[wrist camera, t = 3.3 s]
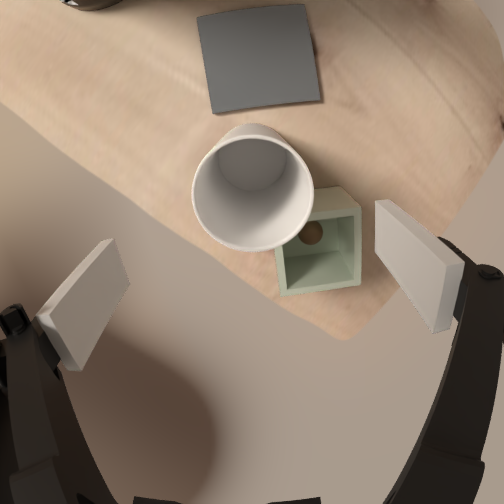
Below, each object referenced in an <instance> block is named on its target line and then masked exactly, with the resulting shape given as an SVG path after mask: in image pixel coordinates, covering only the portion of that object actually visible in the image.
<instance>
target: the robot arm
mask: <svg viewBox="0 0 504 504" xmlns="http://www.w3.org/2000/svg"><path fill="white" fill-rule="evenodd" d="M60 1H61V2H62V3H64V4H66V5H68V6H70V7H73V8H75V9H78V10H85V11H90V10H98V9H103V8H106V7H109V6H112V5H114V4H116V3H119V2H121V1H122V0H60ZM375 253H376V254H377V255H378V257H379V258H380V259H381V261H382V262H383V263H384V265H385V266H386V267H387V269H388V270H389V271H390V273H391V274H392V276H393V277H394V278H395V280H396V281H397V282H398V284H399V285H400V287H401V288H402V289H403V291H404V292H405V294H406V295H407V297H408V298H409V299H410V301H411V302H412V304H413V305H414V307H415V308H416V309H417V311H418V313H419V314H420V316H421V317H422V318H423V320H424V321H425V323H426V325H427V326H428V328H429V329H430V331H431V332H432V334H434V333H438V332H441V331H445V330H448V329H450V326H451V322H452V318H453V316H454V317H455V318H456V320H457V321H458V326H457V330H456V333H455V336H454V339H453V342H452V348H451V351H450V354H449V358H448V361H447V365H446V368H445V371H444V374H443V377H442V380H441V382H440V385H439V388H438V391H437V394H436V397H435V399H434V402H433V405H432V407H431V409H430V412H429V414H428V417H427V419H426V421H425V424H424V426H423V428H422V431H421V433H420V435H419V437H418V440H417V442H416V444H415V446H414V448H413V450H412V452H411V454H410V456H409V458H408V460H407V462H406V465H405V466H404V468H403V470H402V472H401V474H400V475H399V477H398V479H397V481H396V483H395V485H394V486H393V488H392V490H391V491H390V493H389V494H388V496H387V498H386V499H385V501H384V502H383V504H473V502H474V499H475V497H476V494H477V492H478V489H479V486H480V483H481V480H482V477H483V473H484V469H485V463H484V462H483V461H481V454H482V450H483V447H484V443H485V440H486V436H487V432H488V428H489V424H490V420H491V415H492V411H493V406H494V401H495V395H496V390H497V384H498V377H499V370H500V361H501V353H502V343H503V344H504V275H503V273H502V272H501V271H500V270H499V269H497V268H495V267H493V266H490V265H485V264H480V265H476V264H475V263H474V262H473V261H472V260H471V259H470V258H469V257H467V256H466V255H465V254H464V253H462V251H460V250H459V249H458V248H456V246H455V245H453V244H452V243H451V242H450V241H448V240H446V239H444V238H441V237H436V236H435V235H433V234H432V233H431V232H430V231H429V230H427V229H426V228H425V227H424V226H423V225H421V224H420V223H419V222H418V221H416V220H415V219H414V218H413V217H411V216H410V215H409V214H408V213H406V212H405V211H404V210H402V209H401V208H400V207H399V206H397V205H396V204H395V203H393V202H392V201H391V200H389V199H386V200H376V201H375ZM129 285H130V283H129V280H128V277H127V274H126V272H125V269H124V266H123V263H122V260H121V257H120V254H119V251H118V248H117V245H116V243H115V239H114V238H113V239H108V240H102V241H101V242H100V243H99V244H98V245H97V246H96V247H95V248H94V249H93V250H92V251H91V253H90V254H89V255H88V256H87V257H86V258H85V259H84V260H83V261H82V262H81V263H80V265H78V266H77V268H76V269H75V270H74V271H73V272H72V273H71V274H70V275H69V277H68V278H67V279H66V280H65V281H64V282H63V283H62V284H61V285H60V287H59V288H58V289H57V290H56V291H55V293H54V294H53V295H52V296H51V297H50V298H49V300H48V301H47V302H46V303H45V304H44V305H43V307H42V308H41V309H40V310H39V312H38V313H37V314H36V316H35V317H34V319H33V320H32V321H31V322H30V320H29V318H28V316H27V314H26V312H25V310H24V309H23V306H22V305H21V304H13V305H11V306H9V307H7V308H6V309H4V310H3V311H2V312H1V313H0V326H1V328H2V330H3V332H4V333H5V335H6V337H7V338H6V339H3V340H0V504H118V503H117V502H116V500H115V499H114V498H113V496H112V494H111V492H110V491H109V489H108V487H107V485H106V483H105V481H104V479H103V477H102V475H101V473H100V471H99V469H98V467H97V465H96V463H95V461H94V458H93V456H92V454H91V452H90V450H89V447H88V445H87V443H86V441H85V438H84V435H83V433H82V431H81V428H80V426H79V423H78V420H77V418H76V415H75V412H74V410H73V407H72V404H71V401H70V398H69V395H68V392H67V389H66V386H65V383H64V380H63V376H62V373H61V371H60V370H59V368H58V367H57V365H58V363H59V361H60V360H61V361H62V362H63V364H64V366H65V367H66V369H67V370H72V371H82V369H83V367H84V365H85V363H86V361H87V359H88V358H89V356H90V354H91V352H92V350H93V348H94V346H95V345H96V343H97V341H98V339H99V337H100V335H101V334H102V332H103V330H104V328H105V326H106V324H107V323H108V321H109V319H110V317H111V316H112V314H113V312H114V310H115V309H116V307H117V305H118V303H119V302H120V300H121V298H122V297H123V295H124V293H125V292H126V290H127V288H128V287H129ZM133 504H181V503H178V502H175V501H165V500H157V499H149V498H142V497H136V496H135V497H134V500H133ZM268 504H321V500H320V497H316V498H309V499H302V500H293V501H283V502H272V503H268Z"/></svg>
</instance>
